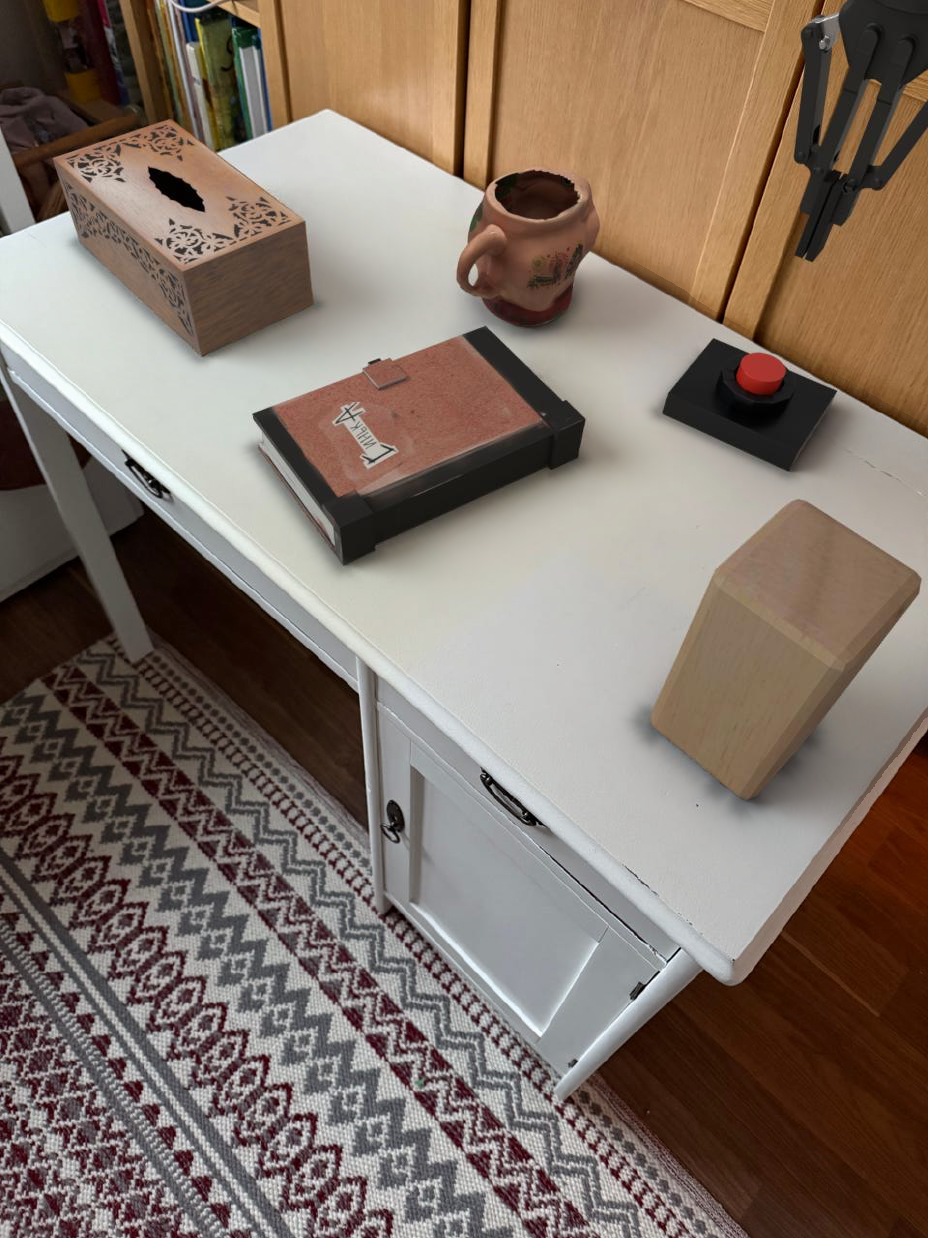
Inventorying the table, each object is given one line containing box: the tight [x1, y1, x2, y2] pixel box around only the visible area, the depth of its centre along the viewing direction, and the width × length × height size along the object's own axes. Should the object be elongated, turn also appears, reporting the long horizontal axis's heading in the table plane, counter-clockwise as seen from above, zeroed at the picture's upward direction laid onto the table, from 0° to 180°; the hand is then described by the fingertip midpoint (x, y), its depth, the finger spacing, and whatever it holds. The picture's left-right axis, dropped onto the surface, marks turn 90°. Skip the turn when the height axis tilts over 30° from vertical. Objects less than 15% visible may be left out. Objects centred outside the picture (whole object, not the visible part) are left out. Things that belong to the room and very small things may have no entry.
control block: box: [662, 337, 838, 472], centre depth 92 cm, size 14×11×4 cm
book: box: [251, 325, 587, 566], centre depth 87 cm, size 26×18×5 cm
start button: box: [736, 352, 786, 395], centre depth 90 cm, size 4×4×2 cm
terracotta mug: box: [455, 166, 601, 327], centre depth 97 cm, size 20×12×14 cm, turn 141°
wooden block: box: [649, 498, 923, 801], centre depth 64 cm, size 10×10×20 cm
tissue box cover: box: [52, 118, 314, 357], centre depth 99 cm, size 26×14×10 cm, turn 42°
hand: (809, 251), depth 79 cm, fingers closed
